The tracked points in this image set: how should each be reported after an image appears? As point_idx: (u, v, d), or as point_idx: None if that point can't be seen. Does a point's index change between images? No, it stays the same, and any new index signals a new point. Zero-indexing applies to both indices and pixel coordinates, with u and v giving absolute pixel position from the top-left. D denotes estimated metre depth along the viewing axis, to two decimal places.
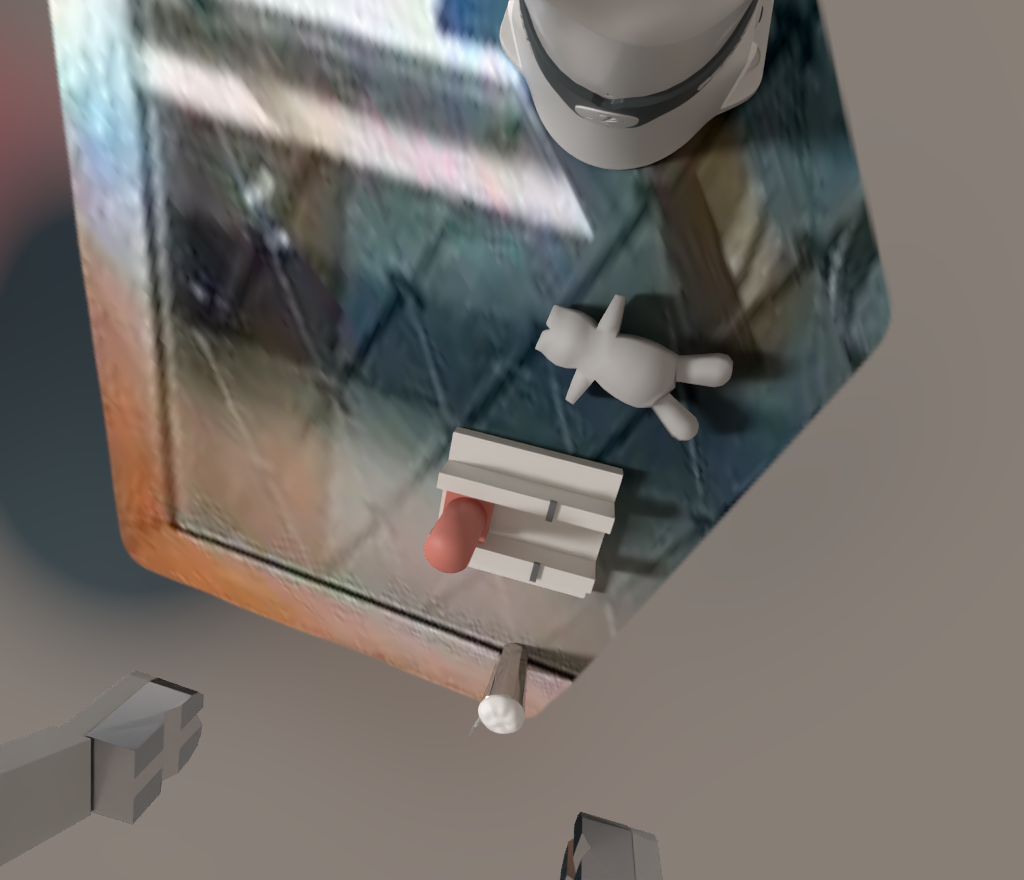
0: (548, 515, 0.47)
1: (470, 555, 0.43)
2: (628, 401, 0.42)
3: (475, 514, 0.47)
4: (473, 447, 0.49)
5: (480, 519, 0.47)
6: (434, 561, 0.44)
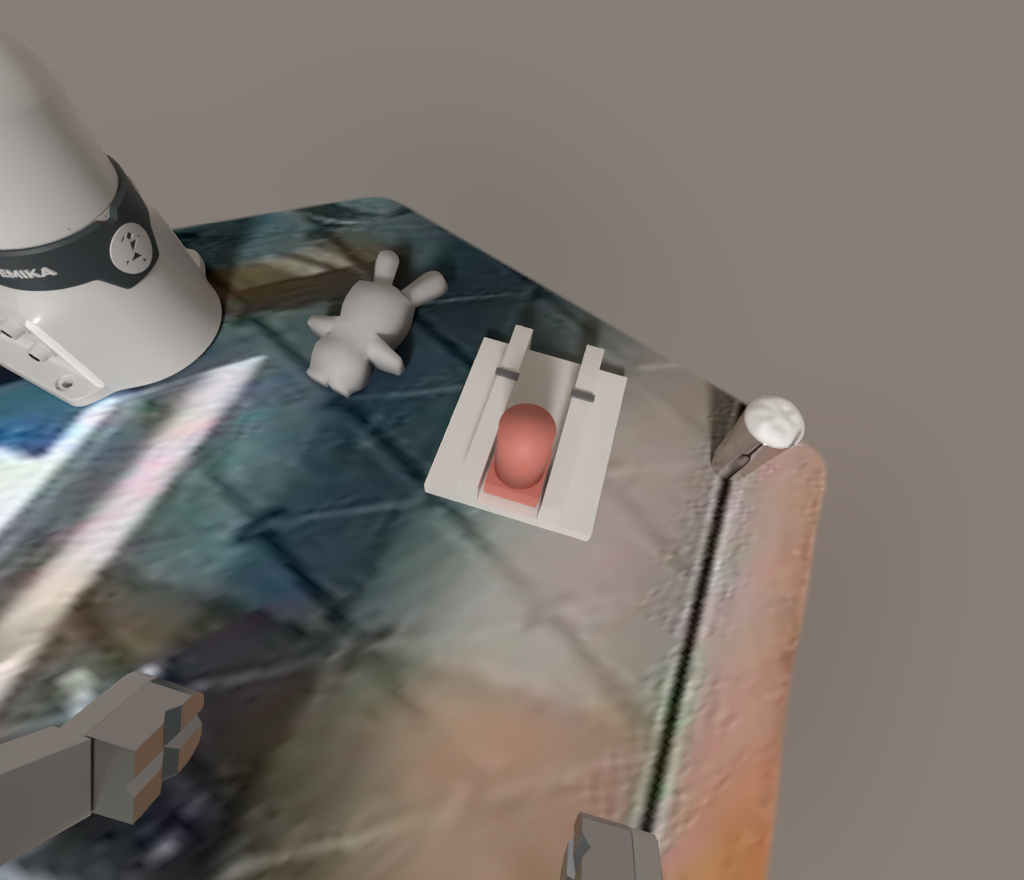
0: (511, 375, 0.44)
1: (531, 404, 0.37)
2: (396, 305, 0.47)
3: None
4: (445, 466, 0.44)
5: None
6: (541, 444, 0.36)
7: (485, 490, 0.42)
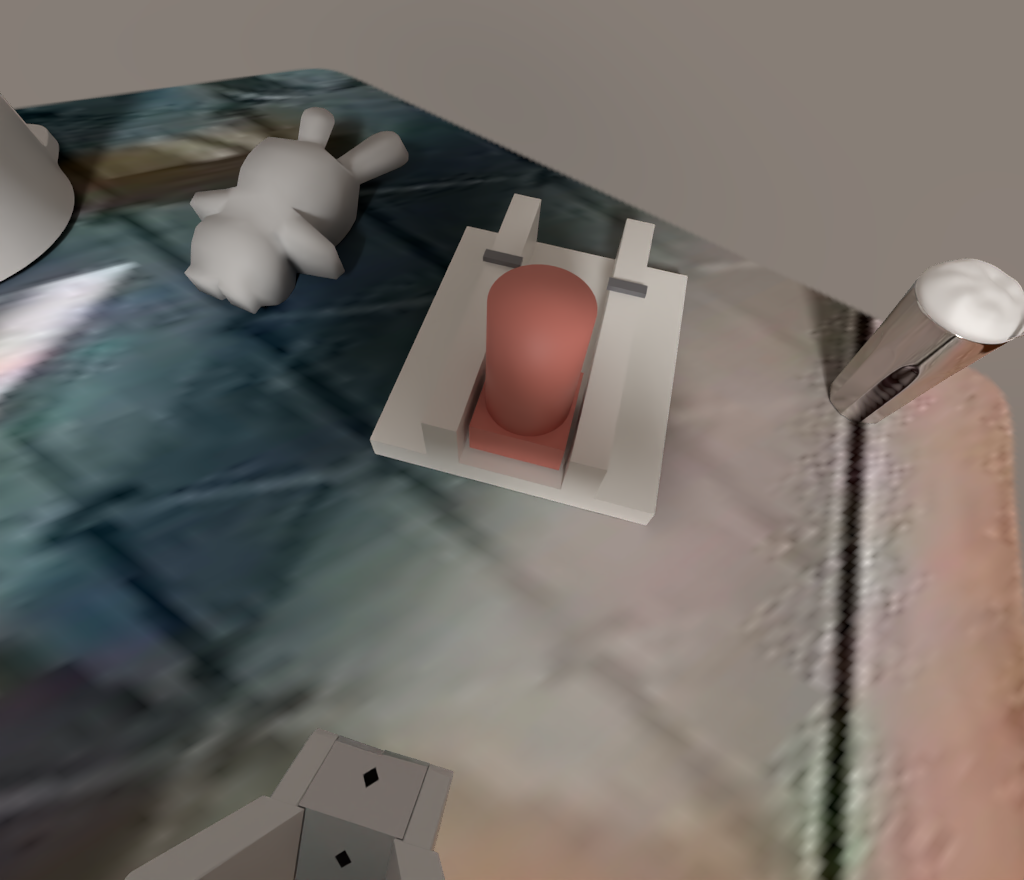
0: (509, 260, 0.27)
1: (547, 267, 0.20)
2: (325, 166, 0.30)
3: None
4: (405, 409, 0.26)
5: None
6: (570, 330, 0.19)
7: (472, 443, 0.25)
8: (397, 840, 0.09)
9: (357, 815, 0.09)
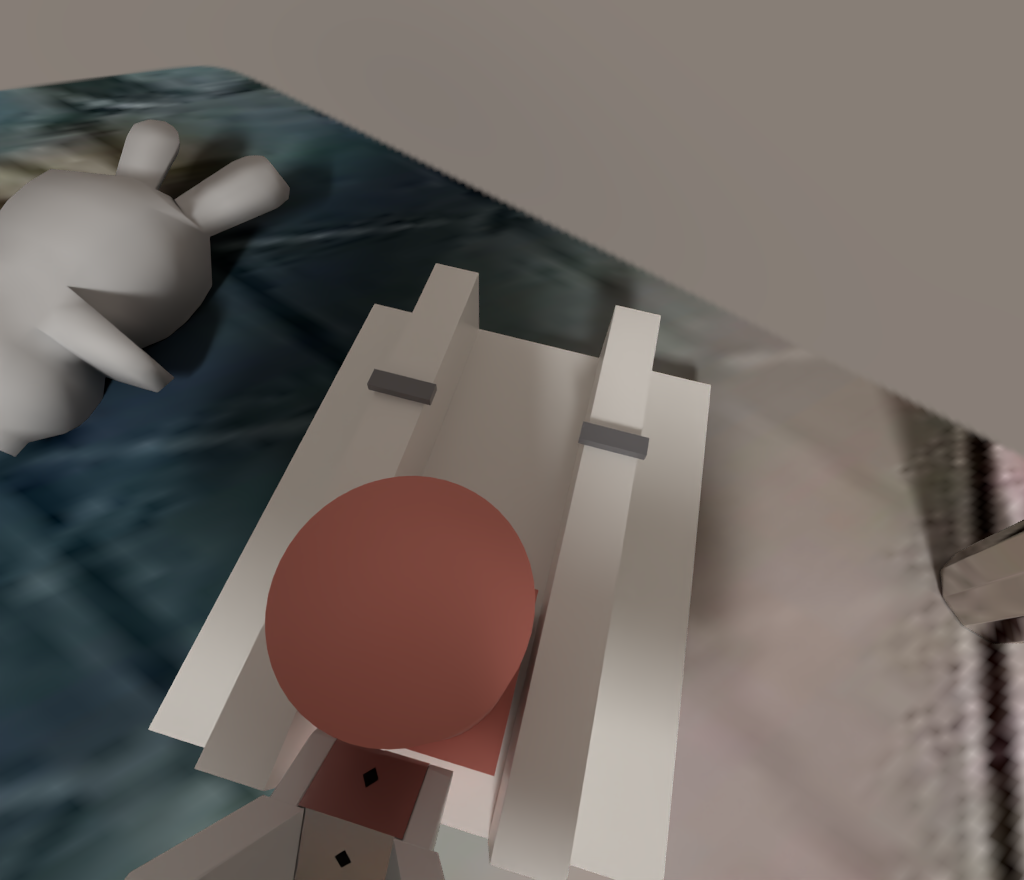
0: (412, 390, 0.16)
1: (429, 481, 0.09)
2: (130, 218, 0.19)
3: None
4: (225, 660, 0.15)
5: None
6: (462, 683, 0.07)
7: None
8: (397, 840, 0.09)
9: (357, 815, 0.09)
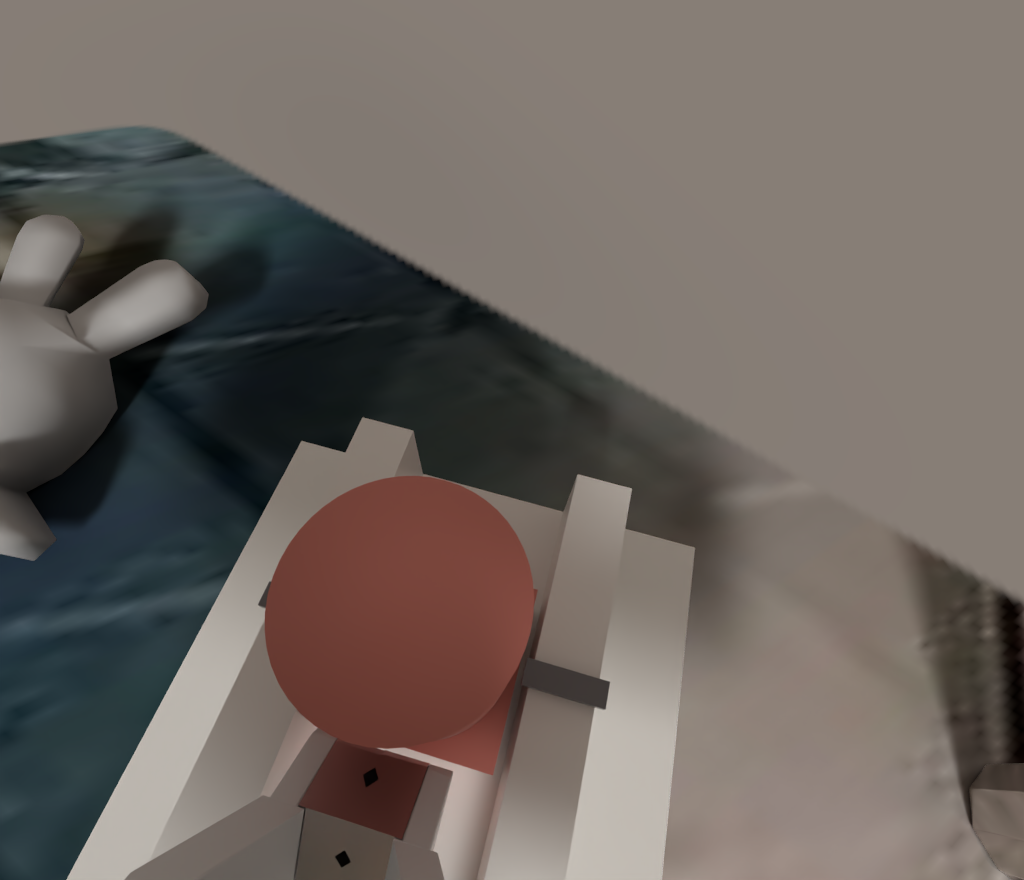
0: None
1: (429, 481, 0.09)
2: None
3: None
4: None
5: None
6: (461, 683, 0.07)
7: None
8: (397, 840, 0.09)
9: (357, 815, 0.09)
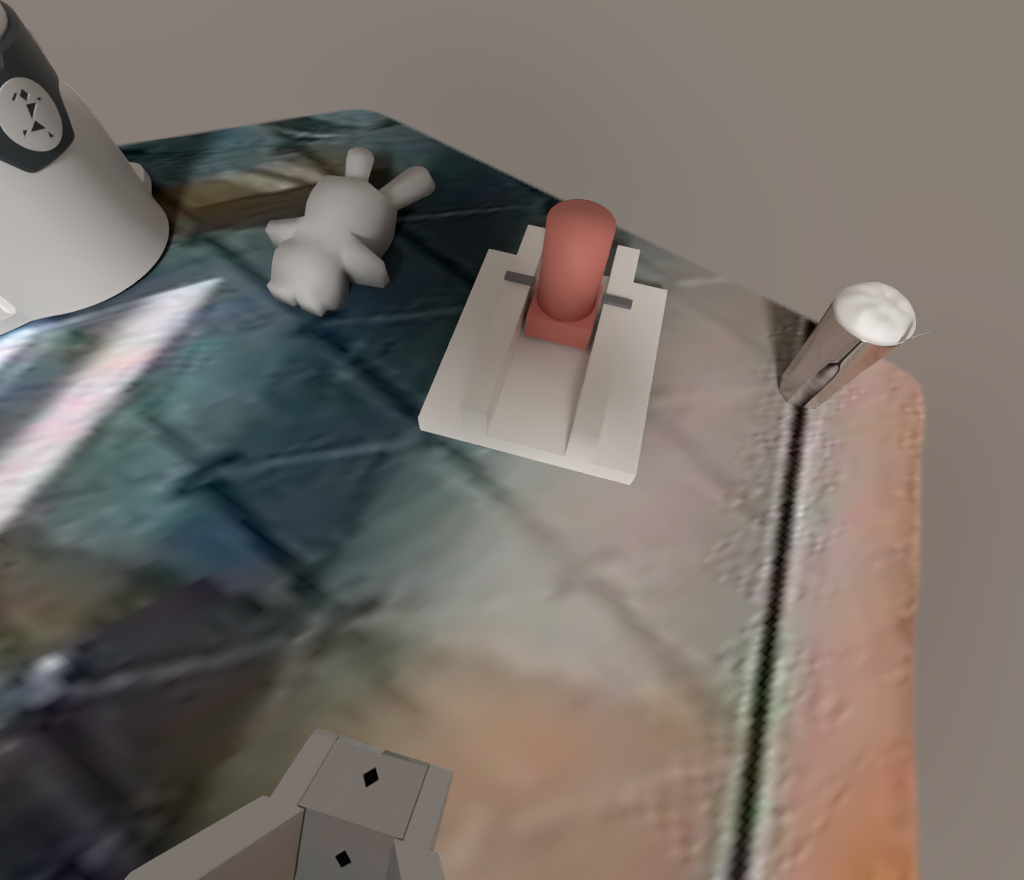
0: (525, 279, 0.35)
1: (583, 201, 0.31)
2: (374, 199, 0.38)
3: None
4: (444, 395, 0.34)
5: None
6: (599, 237, 0.30)
7: (526, 331, 0.36)
8: (397, 840, 0.09)
9: (357, 815, 0.09)
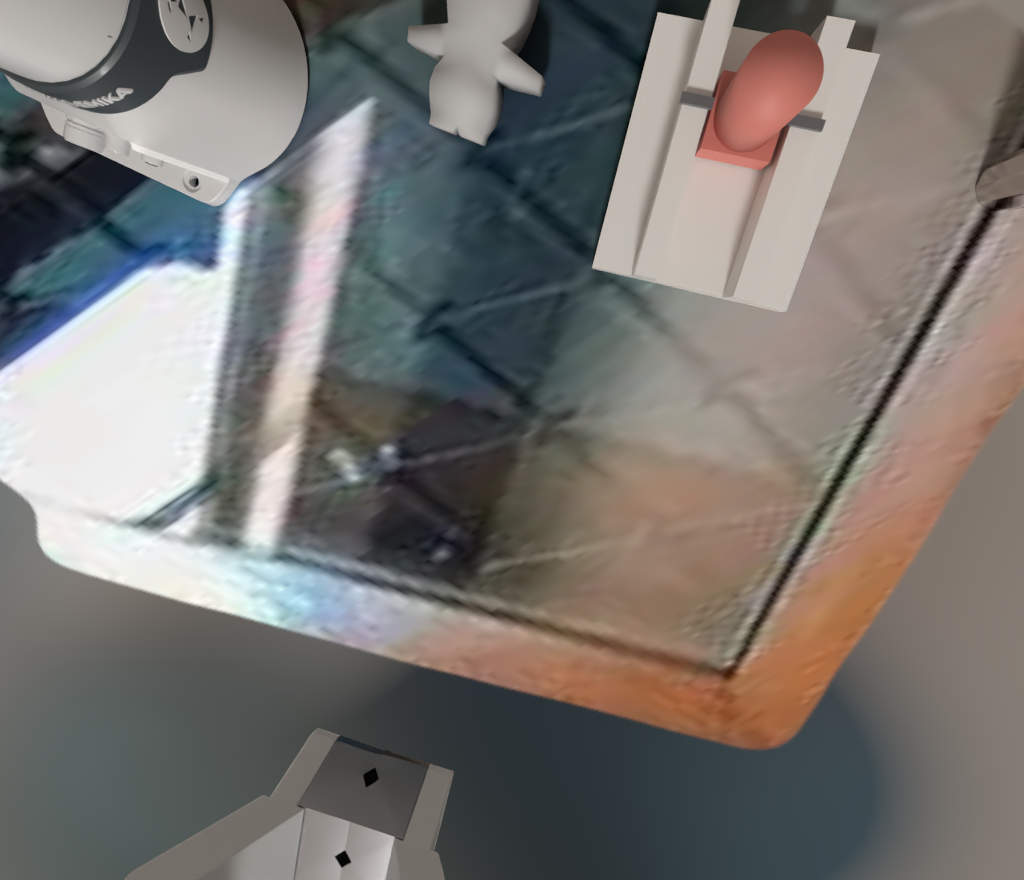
0: (703, 103, 0.32)
1: (789, 31, 0.26)
2: None
3: None
4: (614, 240, 0.38)
5: None
6: (798, 100, 0.27)
7: (698, 155, 0.35)
8: (397, 840, 0.09)
9: (357, 815, 0.09)
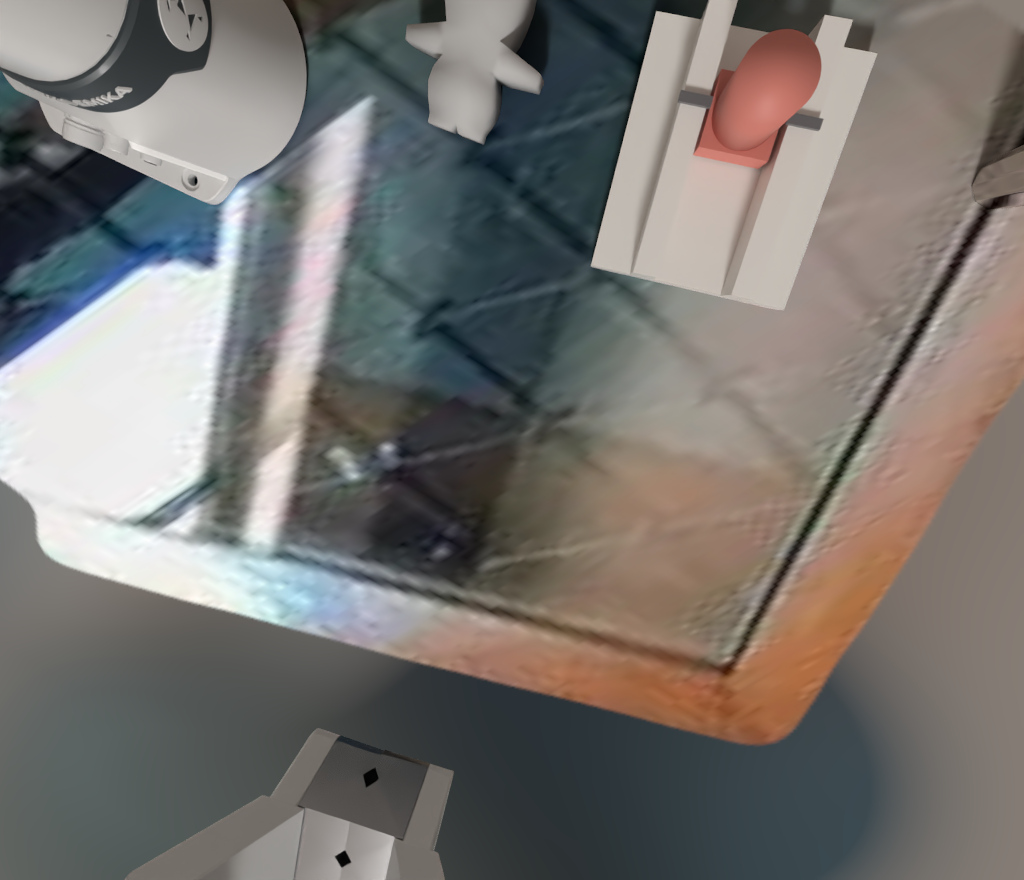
0: (701, 102, 0.32)
1: (787, 31, 0.26)
2: None
3: None
4: (613, 239, 0.38)
5: None
6: (796, 99, 0.27)
7: (696, 153, 0.35)
8: (397, 840, 0.09)
9: (357, 815, 0.09)
